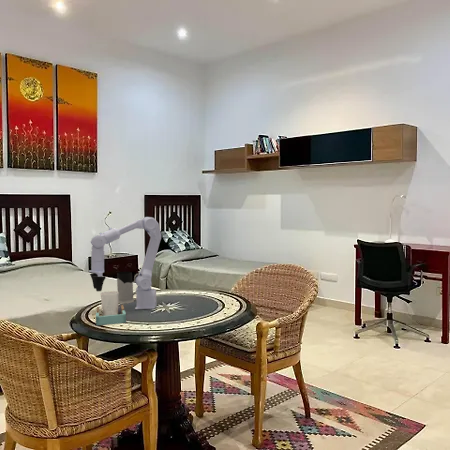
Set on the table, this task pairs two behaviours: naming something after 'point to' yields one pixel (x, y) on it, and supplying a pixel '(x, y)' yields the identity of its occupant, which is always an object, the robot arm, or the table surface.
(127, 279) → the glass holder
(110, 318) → the tray
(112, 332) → the table surface
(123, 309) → the holster cradle
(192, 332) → the table surface
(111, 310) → the white cup
